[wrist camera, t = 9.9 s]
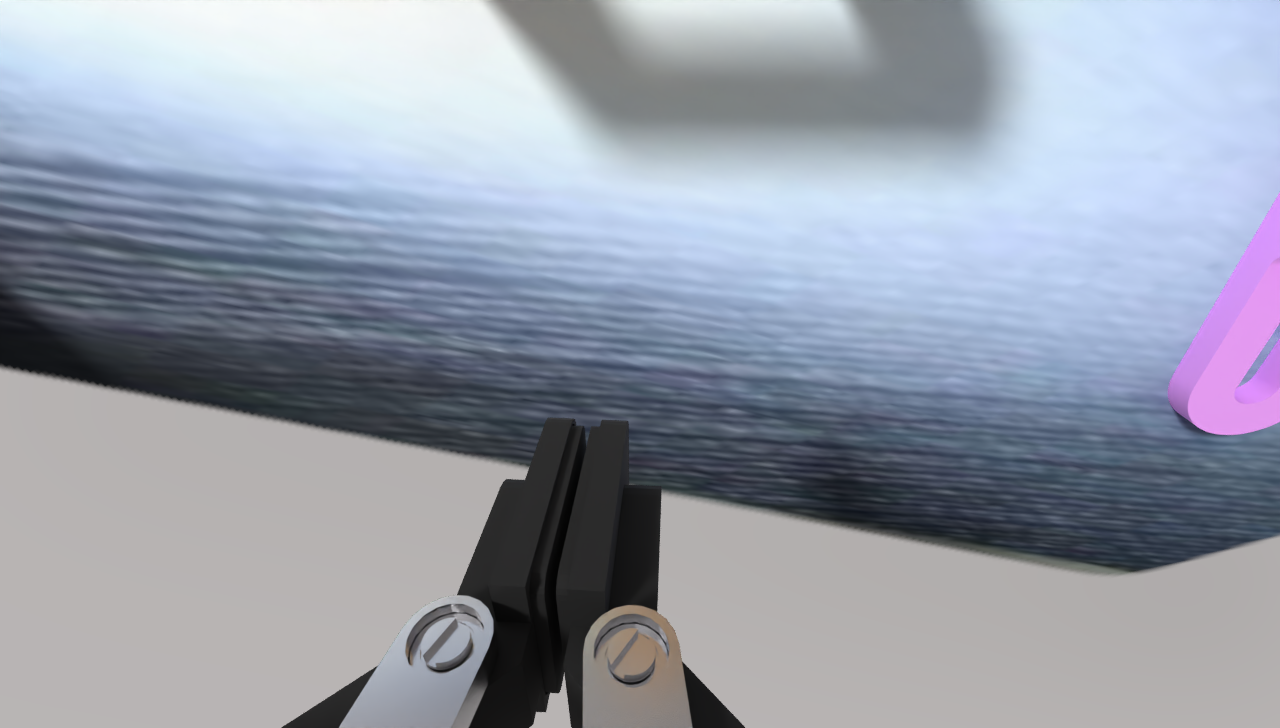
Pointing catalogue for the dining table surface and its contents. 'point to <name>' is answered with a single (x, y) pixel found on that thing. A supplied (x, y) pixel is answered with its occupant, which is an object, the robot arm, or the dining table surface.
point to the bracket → (1237, 346)
